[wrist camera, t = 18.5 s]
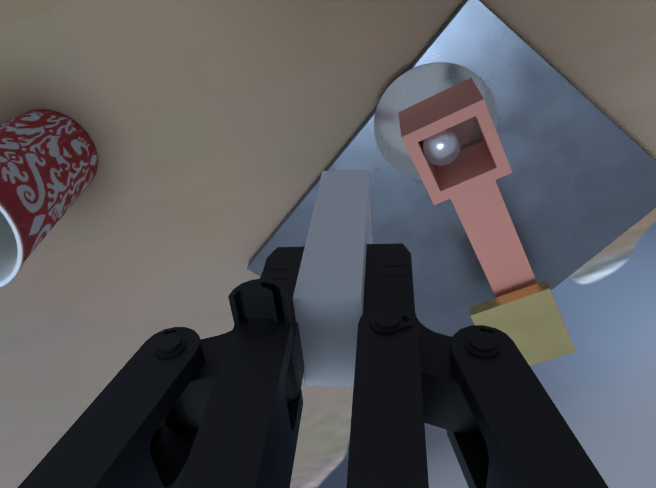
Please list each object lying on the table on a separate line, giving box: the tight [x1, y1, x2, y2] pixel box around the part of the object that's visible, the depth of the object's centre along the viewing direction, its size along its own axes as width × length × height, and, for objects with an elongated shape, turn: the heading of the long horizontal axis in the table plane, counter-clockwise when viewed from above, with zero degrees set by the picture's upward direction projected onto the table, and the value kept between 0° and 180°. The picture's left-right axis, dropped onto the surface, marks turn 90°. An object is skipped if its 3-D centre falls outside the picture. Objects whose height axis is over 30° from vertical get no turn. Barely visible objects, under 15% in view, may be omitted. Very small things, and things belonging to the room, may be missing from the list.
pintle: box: [421, 127, 460, 166], centre depth 38 cm, size 2×2×5 cm
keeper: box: [468, 281, 575, 366], centre depth 45 cm, size 7×6×8 cm
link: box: [398, 77, 537, 298], centre depth 41 cm, size 19×6×5 cm, turn 28°
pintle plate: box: [247, 0, 656, 337], centre depth 45 cm, size 28×22×1 cm
